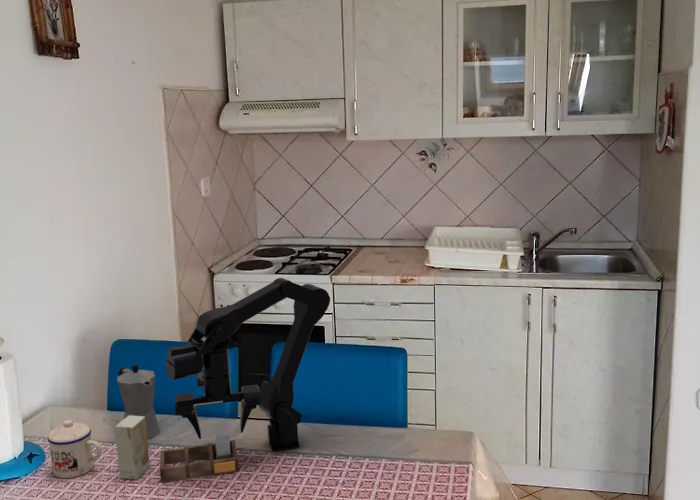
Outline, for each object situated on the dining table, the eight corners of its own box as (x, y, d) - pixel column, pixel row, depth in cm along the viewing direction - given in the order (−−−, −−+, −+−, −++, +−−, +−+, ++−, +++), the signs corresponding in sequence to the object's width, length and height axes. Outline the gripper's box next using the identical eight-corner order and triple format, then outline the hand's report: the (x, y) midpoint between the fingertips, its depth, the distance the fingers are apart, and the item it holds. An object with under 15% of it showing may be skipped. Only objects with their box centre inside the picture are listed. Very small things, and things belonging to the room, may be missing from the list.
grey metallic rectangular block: (229, 456, 161) (227, 424, 159) (231, 468, 155) (229, 435, 153) (216, 458, 160) (213, 425, 158) (218, 470, 154) (215, 437, 153)
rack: (235, 452, 163) (234, 440, 162) (239, 471, 153) (238, 459, 153) (161, 462, 159) (160, 450, 158) (161, 483, 150) (159, 470, 149)
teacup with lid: (43, 477, 154) (36, 428, 152) (68, 457, 162) (62, 411, 160) (91, 482, 151) (85, 432, 149) (114, 461, 160) (109, 414, 158)
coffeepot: (171, 434, 173) (165, 366, 169) (136, 448, 166) (129, 377, 163) (141, 416, 183) (135, 352, 180) (107, 428, 177) (100, 361, 173)
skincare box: (137, 480, 151) (131, 428, 149) (118, 479, 152) (113, 427, 150) (151, 465, 157) (146, 415, 155) (133, 464, 158) (128, 414, 156)
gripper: (254, 352, 163) (258, 414, 166) (172, 361, 159) (177, 425, 162) (260, 369, 152) (264, 435, 155) (172, 379, 148) (178, 447, 151)
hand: (221, 435), depth 156 cm, fingers open, 9 cm apart
